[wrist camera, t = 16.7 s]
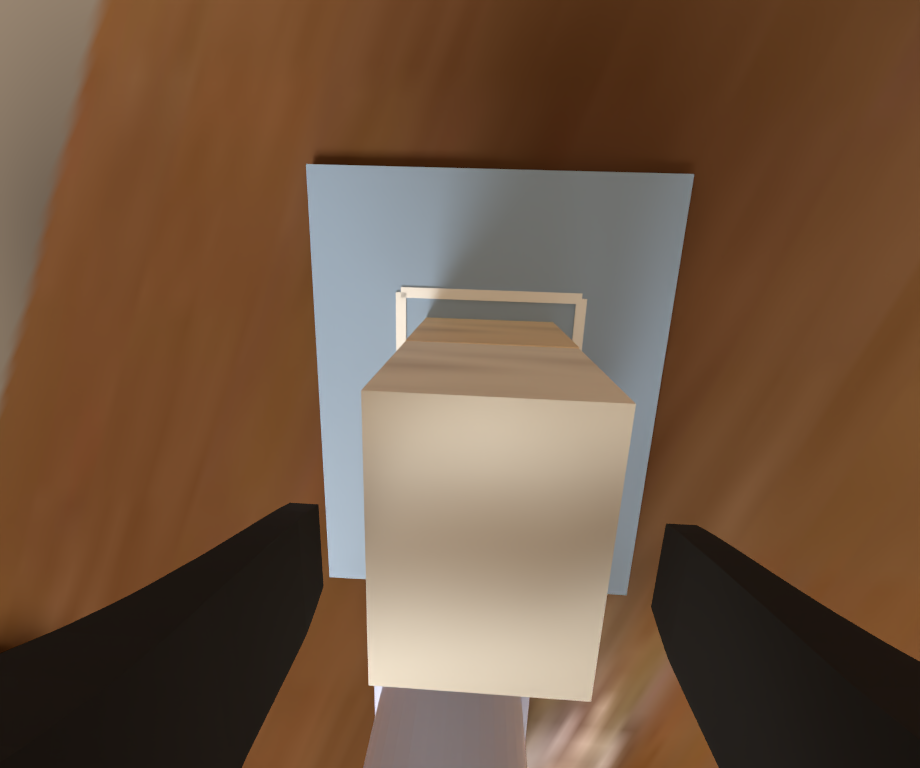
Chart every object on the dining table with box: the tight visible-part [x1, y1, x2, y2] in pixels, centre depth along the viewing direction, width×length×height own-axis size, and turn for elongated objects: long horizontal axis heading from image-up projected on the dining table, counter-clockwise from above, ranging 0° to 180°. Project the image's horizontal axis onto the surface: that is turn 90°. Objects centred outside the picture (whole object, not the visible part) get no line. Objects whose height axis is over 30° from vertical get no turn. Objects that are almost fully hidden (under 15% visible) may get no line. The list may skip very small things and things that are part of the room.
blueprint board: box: [306, 164, 694, 595], centre depth 19 cm, size 18×14×1 cm
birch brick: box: [361, 341, 636, 702], centre depth 12 cm, size 7×5×5 cm
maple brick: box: [406, 317, 579, 349], centre depth 16 cm, size 7×5×5 cm
